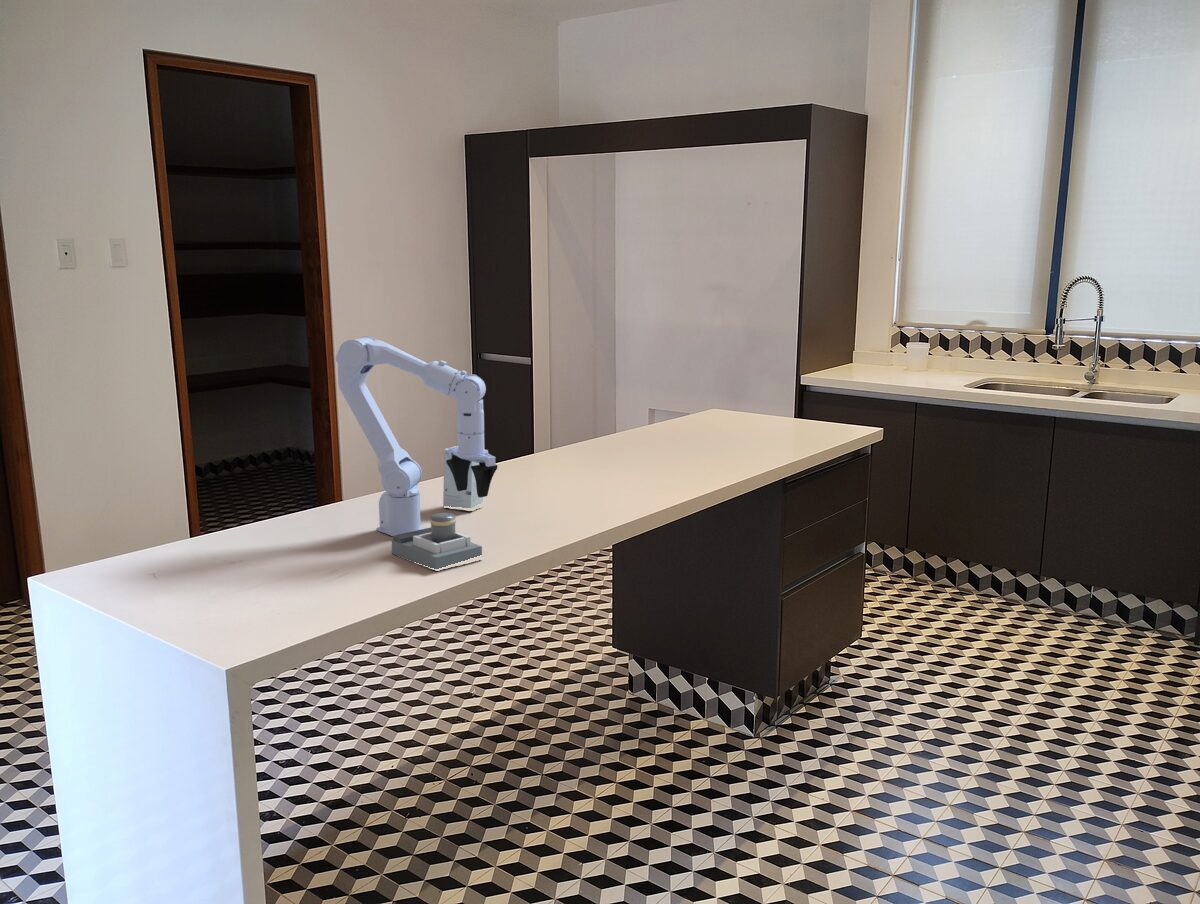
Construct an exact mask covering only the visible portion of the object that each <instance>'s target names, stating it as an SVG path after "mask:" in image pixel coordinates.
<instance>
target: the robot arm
mask: <svg viewBox="0 0 1200 904" xmlns="http://www.w3.org/2000/svg"><path fill="white" fill-rule="evenodd" d="M334 359H335V361H336V363H337V377H338V378H337V379H338V380H337V381H338V388H339V390H340V392H341V395H343V397H344V399H345V401H346V402H347V405H348V406H349V408H350V410H351V412H352V413H353V415H354V417H355V419H356V421H357V422H358V425H359V426H360V428H361V429H362V432H363V433H364V436H366V440H368V443H369V444H370V446H371V448H372V450H373V452H374V453H375V455H376V456H377V460H378V461H377V462H378V465H377V469H378V471H379V473H380V475H381V483H382V487H383V489H384V492H383V493H382V494H381V495H380V497H379V500H378V515H379V516H378V517H379V518H378V519H379V526H378V527H376V528H375V529H376V531H378V532H381V533H383V534H386V535H388V536H391V537H393V536H394V535H399V534H403V533H408V532H412V531H417V530H421V529H426V527H423V526H421V525H422V524H421V497H420V488H419V483H420V482H421V481H422V477H423V470H422V467H421V466H420V465H419V463H418V462H417V461H415V460H414V459H413V458H412V457H411V456H410V454H409V453H408V452H407V451H406V450H405V449H404V448H402V447H401V446H400V444H399V442H398V441H397V438H396V437H395V435H394V433H393V432H392V430H391V428H390V426H389V424H388V422H387V421H386V419H385V417H384V415H383V414H382V412H381V409H380V408H379V406H378V405H377V402H376V400H375V399H374V397H373V395H372V393H371V392H370V390H369V388H368V386H367V385H366V383H367V380H368V378H369V375H370V372H371V370H372V369H373V367H374V366H377V365H385V364H387V365H390V366H392V367H395V368H397V369H400V370H403V371H405V372H408V373H410V374H413V375H416V376H418V377H419V378H421V380H422V381H423V384H424V385H425V386H427V387H428V388H431V389H433V390H436V391H437V392H440V393H442V394H445V395H447V396H449V397H451V398H452V397H453V398H454V400H455V401H456V403H457V405H456V406H457V408H456V409H457V412H456V416H457V417H456V420H457V421H456V423H457V424H456V425H457V446H458V447H454V446H451V447H447V448H448V453H449V457H452V458H451V459H449V460H446V463H447V465H448V466H449V468H450V470H451V472H452V474H453V477H454V480H455V484H456V488H457V491H463V490H467V484H468V471H469V466H470V463H471V461H473V462H476V463H479V465H475V466H471V469H472V471H473V473H474V476H475V480H476V488H477V495H478V497H480V498H481V497H483V498H484V497H488V495H489V492H490V491H489V490H490V487H491V483H492V480H493V477H494V475H495V473H496V471H497V469H498V464H496V456H494V455H492V454H491V453H489V450H488V449H485V412H484V399H483V397H484V396H485V394H486V391H487V386H486V383H485V381H484V380H483V378H481V377H480V376H478V375H477V374H467V373H468V372H467V371H466V370H461V371H460V370H459V369H456V368H453V367H452V366H449V365H447V361H445V360H439V361H437V360H433V361H430V362H428V363H427V362H426V361H424V360H422V359H419V358H418V357H416V356H414V355H411V354H410V353H408V352H406V351H403V350H402V349H399V348H397V347H396V346H393V345H392V344H389V343H388V342H387V341H386V342H385V341H383V340H380V339H375V338H374V337H371V336H369V335H368V336H361V337H359V338H354V339H347V340H345V341H343V343H341V345H340V346H339V349H338V351H337V353H336V355H335V358H334Z"/></svg>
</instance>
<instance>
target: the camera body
mask: <svg viewBox="0 0 1200 904" xmlns="http://www.w3.org/2000/svg"><path fill="white" fill-rule="evenodd" d="M455 533H456V539H454V540H449V541H445V542H441V543H439V544H438V543H435V542H432V535H431V526H430V527H425V529H421V530H417V531H412V532H408V533H403V534H399V535H394V536H392V539H391V554H392V553H393V554H395V555H394V556H396V555H398V556H400V557H399V558H401V557H403V558H405V559H408V560H411V561H413V562H416V563H419V564H422V565H425V566H428V567H430V568H434V569H439V568H442V567H446V566H448V565H451V564H455V563H458V562H461V561H465V560H468V559H470V558H474V557H477V556H480V555H482V556H483V546H482V545H480V544H477V543H474V542H472V541H471V536H470V535H466V534H463V533H460V532H458V531H455ZM393 554H392V555H393ZM398 556H397V557H398ZM403 558H402V559H403ZM405 559H404V560H405ZM408 560H407V561H408ZM413 562H412V563H413Z"/></svg>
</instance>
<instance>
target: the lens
mask: <svg viewBox="0 0 1200 904" xmlns="http://www.w3.org/2000/svg"><path fill="white" fill-rule="evenodd" d="M456 520H457V519H456V515H455V514H454V513H451V512H439V513H438V512H437V513H434V514H431V516H430V527H431V535H432V542H435V543H438V544H439V543H441V542H445V541H449V540H454V539H456V533H455V532H456V522H457V521H456Z"/></svg>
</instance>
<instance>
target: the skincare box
mask: <svg viewBox="0 0 1200 904" xmlns="http://www.w3.org/2000/svg"><path fill="white" fill-rule="evenodd" d="M453 447H458V445H455V446H453ZM448 448H449V447H447V448H444V451H443V453H444V454H443V492H442V493H443V495H442V496H443V497H442V498H443V499H442V500H443V501H442V502H443V503H442V506H449V507H450V506H451V507H462V508H473V507H475V506H477V505H478V504H481V503H482V502H483V503H484V497H481V498H480V497H478V495H477V488H476V480H475V476H474V473H473V471H472V469H471V466H475V465H479V463H476V462H473V461H471V463H470V466H469V471H468V484H467V490H463V491H457V488H456V484H455V480H454V477H453V474H452V472H451V470H450V468H449V466H448V465H447V463H446V460H449V459H451V458H452V457H449V453H448Z"/></svg>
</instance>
